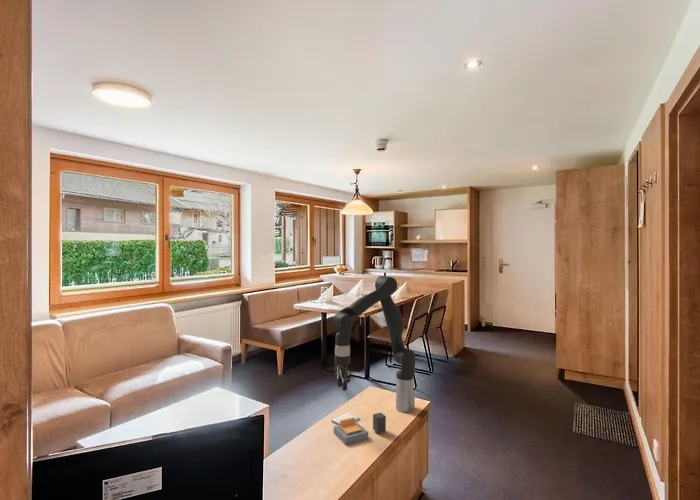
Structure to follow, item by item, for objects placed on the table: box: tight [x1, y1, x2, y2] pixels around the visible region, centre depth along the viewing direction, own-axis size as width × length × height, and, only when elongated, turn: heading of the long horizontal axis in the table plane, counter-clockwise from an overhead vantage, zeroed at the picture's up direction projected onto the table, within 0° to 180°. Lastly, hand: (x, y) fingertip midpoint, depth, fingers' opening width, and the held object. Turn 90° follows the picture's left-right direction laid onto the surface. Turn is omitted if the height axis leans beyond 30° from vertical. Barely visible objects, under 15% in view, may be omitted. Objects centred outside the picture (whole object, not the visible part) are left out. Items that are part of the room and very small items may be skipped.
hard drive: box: [331, 412, 361, 426], centre depth 188 cm, size 2×8×12 cm
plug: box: [372, 412, 387, 434], centre depth 177 cm, size 4×4×8 cm
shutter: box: [340, 417, 362, 434], centre depth 173 cm, size 8×8×3 cm
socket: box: [333, 421, 369, 446], centre depth 173 cm, size 12×12×3 cm
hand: (342, 388), depth 181 cm, fingers open, 4 cm apart
